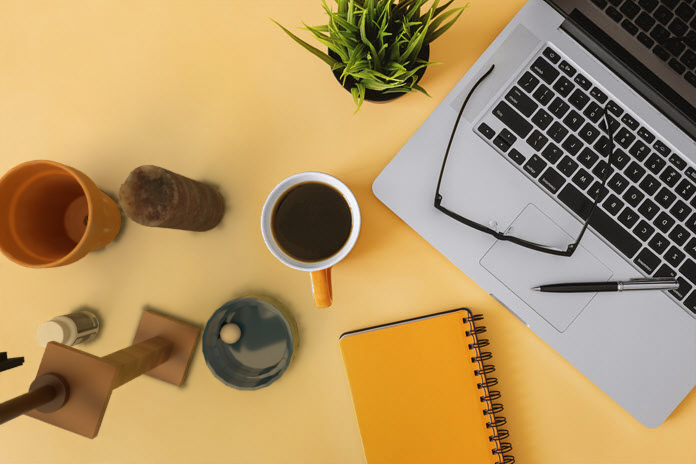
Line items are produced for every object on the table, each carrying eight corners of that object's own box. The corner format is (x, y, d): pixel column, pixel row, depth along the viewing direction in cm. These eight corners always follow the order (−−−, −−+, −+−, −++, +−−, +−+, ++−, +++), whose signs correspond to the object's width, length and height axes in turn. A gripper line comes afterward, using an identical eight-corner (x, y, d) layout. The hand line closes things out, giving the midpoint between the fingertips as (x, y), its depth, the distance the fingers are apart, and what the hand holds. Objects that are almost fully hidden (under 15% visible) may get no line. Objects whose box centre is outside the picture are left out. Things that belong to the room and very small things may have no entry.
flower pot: (124, 163, 76) (73, 145, 63) (150, 249, 75) (104, 249, 62) (40, 191, 76) (-27, 178, 63) (65, 277, 75) (1, 282, 62)
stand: (182, 384, 74) (94, 446, 50) (128, 365, 74) (16, 417, 51) (201, 328, 74) (122, 363, 51) (147, 309, 75) (44, 335, 51)
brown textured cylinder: (237, 216, 75) (188, 202, 55) (198, 243, 75) (135, 239, 55) (210, 175, 75) (152, 147, 55) (172, 202, 75) (99, 184, 55)
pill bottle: (73, 308, 75) (35, 315, 67) (102, 313, 75) (68, 320, 66) (68, 339, 75) (30, 350, 67) (97, 343, 75) (62, 355, 66)
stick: (76, 399, 51) (-15, 445, 39) (43, 417, 51) (-58, 468, 39) (59, 365, 51) (-37, 400, 39) (26, 383, 51) (-79, 424, 39)
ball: (238, 348, 72) (219, 343, 72) (244, 329, 74) (225, 325, 74) (235, 342, 70) (215, 337, 70) (242, 322, 71) (222, 318, 71)
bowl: (283, 392, 73) (276, 403, 68) (203, 364, 74) (189, 373, 68) (310, 310, 73) (305, 314, 68) (230, 283, 74) (219, 285, 69)
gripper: (-298, 368, 26) (-35, 323, 43) (-282, 699, 25) (-19, 520, 43) (-168, 353, 26) (46, 314, 43) (-146, 687, 25) (63, 512, 42)
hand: (13, 416), depth 43 cm, fingers open, 9 cm apart
